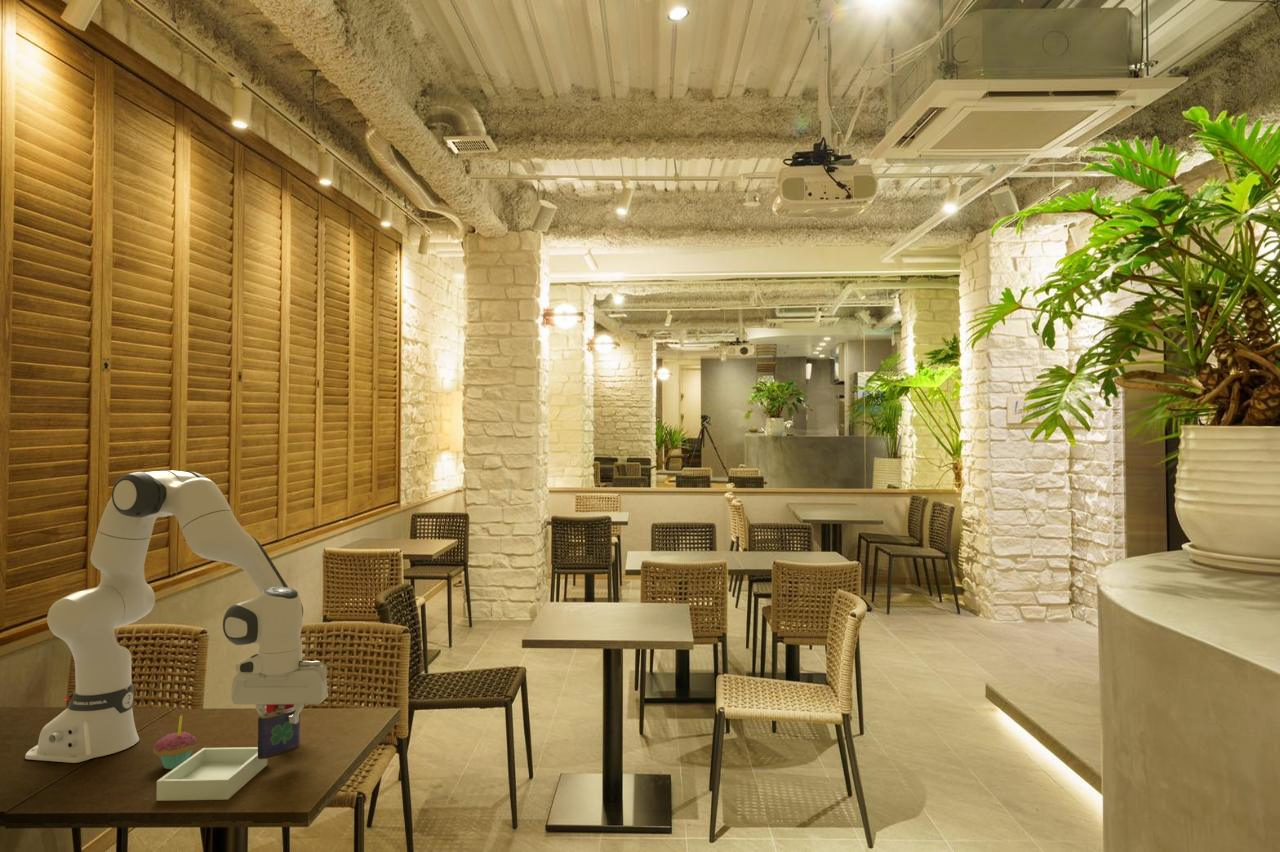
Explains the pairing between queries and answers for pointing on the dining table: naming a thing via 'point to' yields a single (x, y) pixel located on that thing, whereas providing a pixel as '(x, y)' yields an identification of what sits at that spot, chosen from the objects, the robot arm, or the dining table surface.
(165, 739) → the cupcake
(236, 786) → the serving bin
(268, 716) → the flask
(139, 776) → the dining table surface
